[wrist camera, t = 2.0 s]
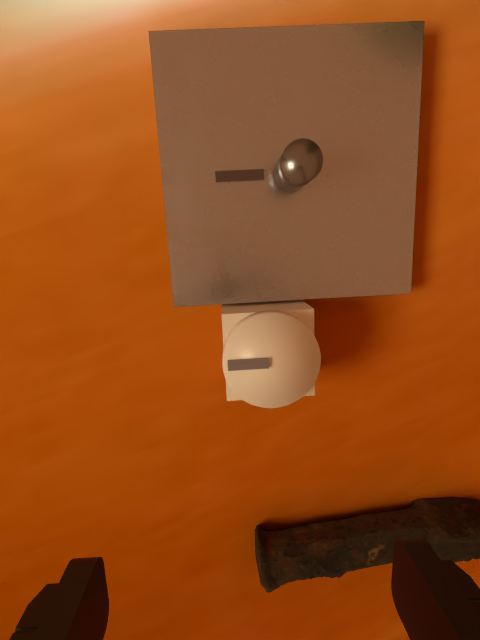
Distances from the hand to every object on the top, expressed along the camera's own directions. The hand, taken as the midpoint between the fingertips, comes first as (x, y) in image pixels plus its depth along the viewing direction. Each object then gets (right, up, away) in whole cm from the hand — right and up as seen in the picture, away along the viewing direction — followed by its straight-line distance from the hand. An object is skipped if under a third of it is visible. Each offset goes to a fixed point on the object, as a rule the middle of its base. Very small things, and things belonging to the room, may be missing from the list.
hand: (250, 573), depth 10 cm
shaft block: (+3, +16, +14) cm, 22 cm away
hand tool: (+10, -9, +20) cm, 24 cm away
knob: (+1, +5, +16) cm, 17 cm away
